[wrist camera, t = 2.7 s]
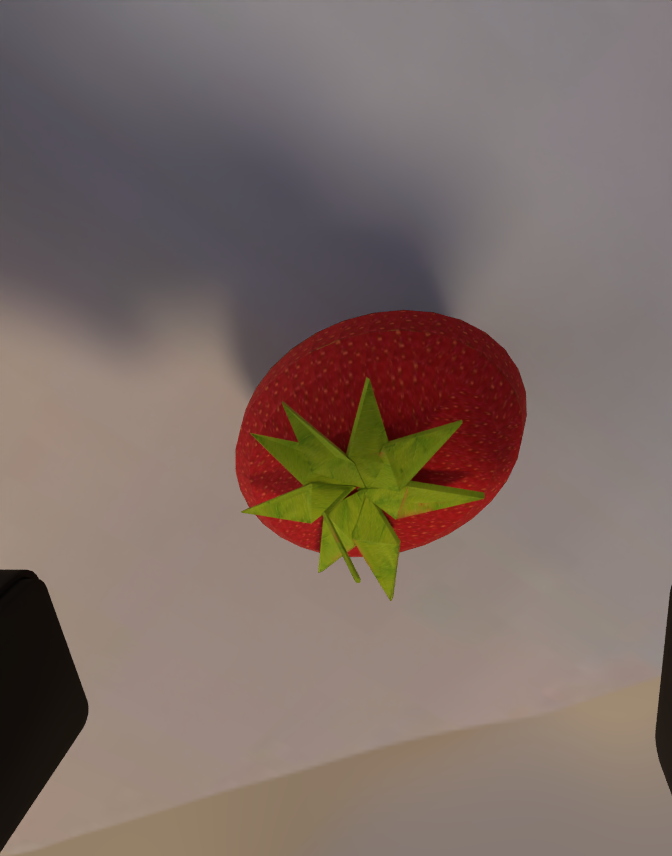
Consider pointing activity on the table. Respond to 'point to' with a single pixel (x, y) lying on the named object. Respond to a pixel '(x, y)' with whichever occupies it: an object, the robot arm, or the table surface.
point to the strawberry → (381, 436)
